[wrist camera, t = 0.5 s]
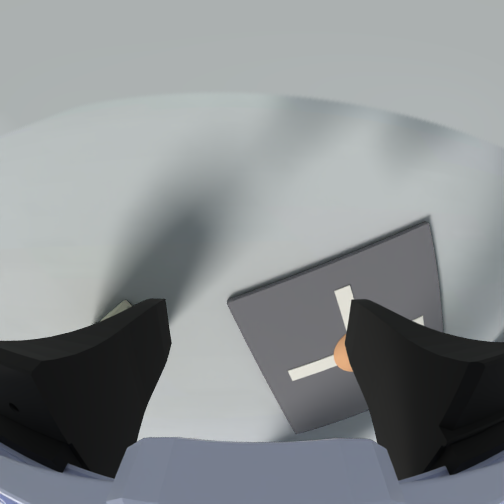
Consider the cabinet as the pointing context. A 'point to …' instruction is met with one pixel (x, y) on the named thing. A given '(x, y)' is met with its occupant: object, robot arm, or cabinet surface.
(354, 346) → the robot arm
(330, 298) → the rest pad
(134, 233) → the cabinet surface
